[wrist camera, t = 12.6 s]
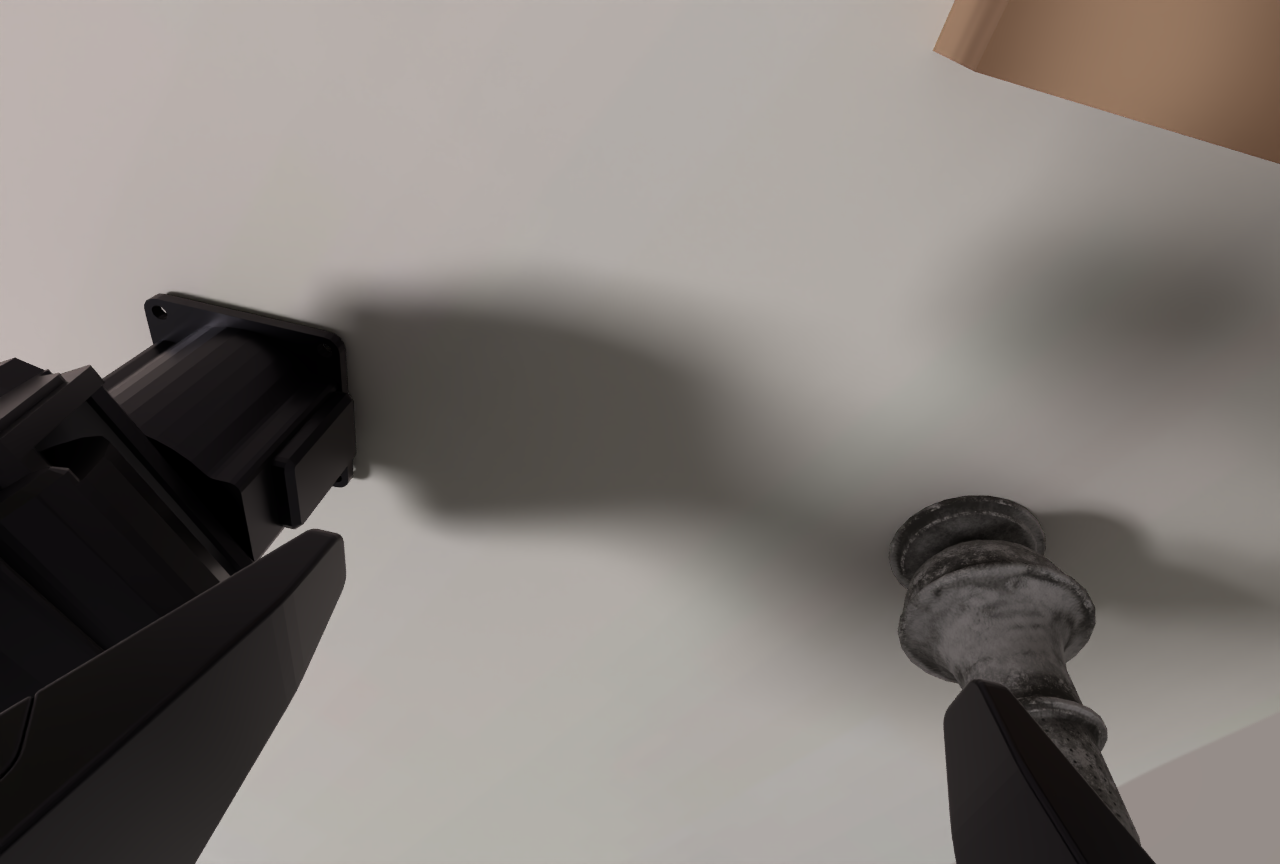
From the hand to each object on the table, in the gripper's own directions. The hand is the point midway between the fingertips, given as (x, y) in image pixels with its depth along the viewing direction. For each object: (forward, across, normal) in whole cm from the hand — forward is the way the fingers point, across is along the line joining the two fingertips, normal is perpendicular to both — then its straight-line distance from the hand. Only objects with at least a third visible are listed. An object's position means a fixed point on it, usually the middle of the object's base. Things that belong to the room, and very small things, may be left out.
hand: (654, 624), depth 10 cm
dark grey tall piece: (+13, -12, +8) cm, 20 cm away
